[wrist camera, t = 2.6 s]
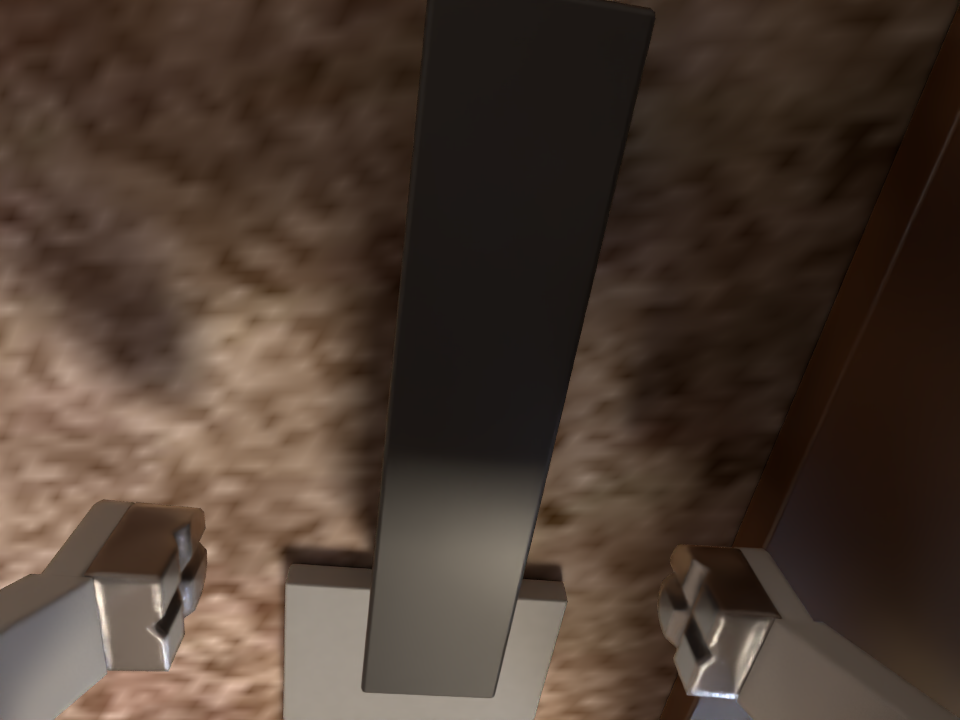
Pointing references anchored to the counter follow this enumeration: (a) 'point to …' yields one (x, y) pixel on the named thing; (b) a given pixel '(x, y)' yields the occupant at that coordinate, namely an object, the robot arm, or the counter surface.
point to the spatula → (476, 367)
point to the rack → (880, 430)
